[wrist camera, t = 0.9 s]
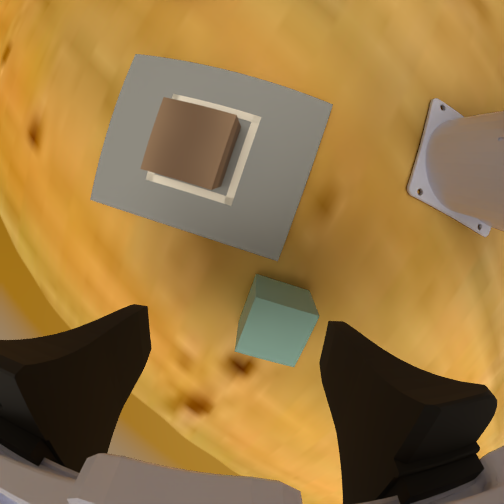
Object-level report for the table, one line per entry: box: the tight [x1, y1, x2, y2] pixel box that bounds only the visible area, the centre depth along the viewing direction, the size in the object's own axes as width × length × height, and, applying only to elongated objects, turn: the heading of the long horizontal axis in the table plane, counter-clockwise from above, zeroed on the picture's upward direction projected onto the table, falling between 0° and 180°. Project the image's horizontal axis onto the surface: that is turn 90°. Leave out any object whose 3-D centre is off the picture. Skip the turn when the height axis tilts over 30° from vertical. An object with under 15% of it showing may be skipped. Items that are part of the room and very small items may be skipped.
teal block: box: [235, 274, 319, 367], centre depth 19 cm, size 4×4×4 cm
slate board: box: [90, 54, 333, 261], centre depth 18 cm, size 14×11×1 cm
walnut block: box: [140, 97, 241, 190], centre depth 16 cm, size 4×4×4 cm
